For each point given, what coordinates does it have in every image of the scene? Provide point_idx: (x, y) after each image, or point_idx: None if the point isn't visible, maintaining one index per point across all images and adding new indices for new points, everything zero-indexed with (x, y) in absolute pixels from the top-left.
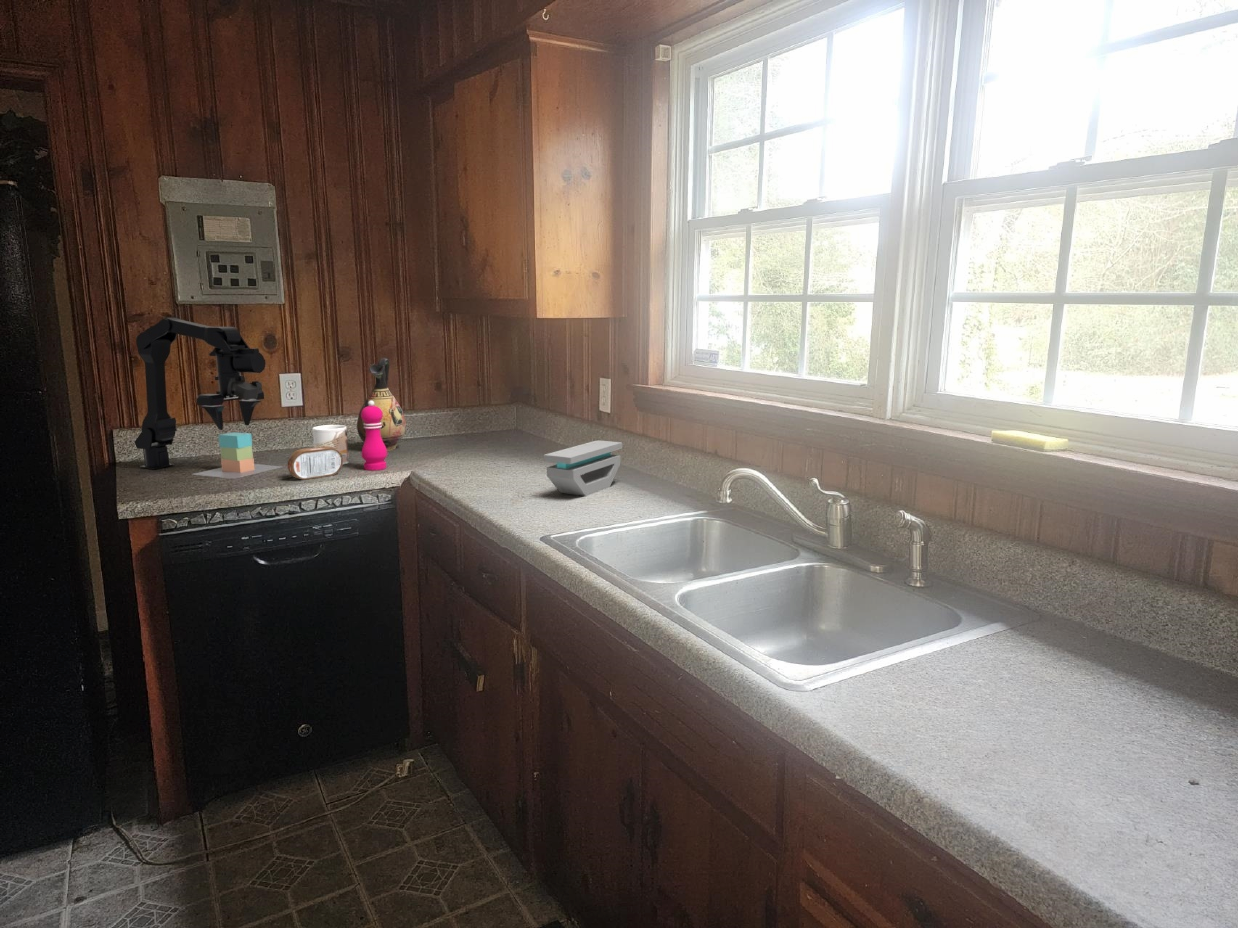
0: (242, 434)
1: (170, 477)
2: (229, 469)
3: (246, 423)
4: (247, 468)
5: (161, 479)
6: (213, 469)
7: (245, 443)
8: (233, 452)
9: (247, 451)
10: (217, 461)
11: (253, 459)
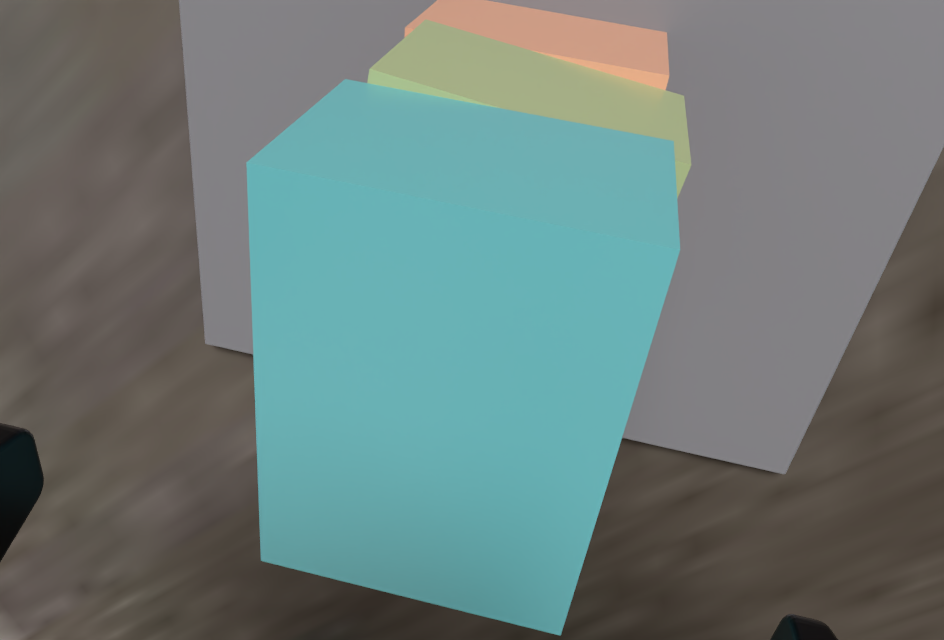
0: (419, 275)
1: (830, 578)
2: None
3: (9, 489)
4: (550, 19)
5: (919, 598)
6: None
7: (479, 131)
8: None
9: (487, 72)
10: (199, 562)
11: (414, 22)
